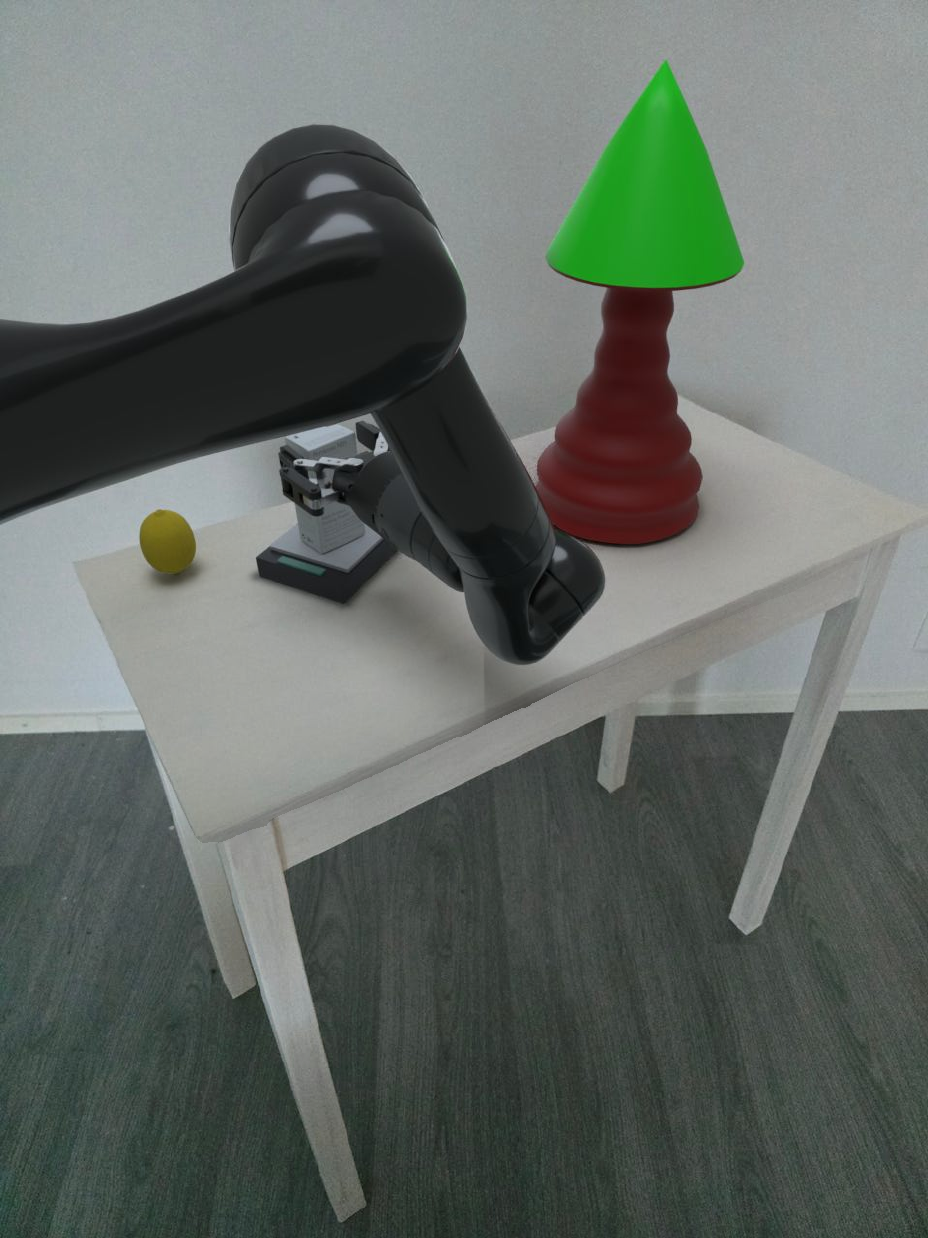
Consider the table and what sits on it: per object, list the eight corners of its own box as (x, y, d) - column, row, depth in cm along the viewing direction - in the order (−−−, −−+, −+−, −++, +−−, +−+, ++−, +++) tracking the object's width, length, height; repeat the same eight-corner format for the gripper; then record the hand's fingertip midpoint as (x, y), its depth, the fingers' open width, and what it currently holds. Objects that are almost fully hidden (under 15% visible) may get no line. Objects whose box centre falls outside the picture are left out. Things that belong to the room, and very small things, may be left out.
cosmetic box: (322, 556, 88) (307, 452, 80) (297, 539, 90) (281, 437, 83) (368, 533, 91) (358, 431, 84) (343, 518, 94) (331, 417, 86)
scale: (344, 603, 86) (341, 580, 84) (259, 576, 90) (254, 553, 88) (407, 541, 95) (405, 518, 93) (327, 518, 99) (324, 497, 97)
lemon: (156, 594, 88) (136, 530, 83) (146, 567, 92) (126, 504, 87) (208, 579, 90) (192, 515, 85) (196, 553, 94) (179, 491, 89)
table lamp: (733, 515, 99) (834, 59, 71) (601, 567, 91) (654, 77, 63) (625, 449, 112) (674, 44, 84) (502, 489, 104) (510, 57, 76)
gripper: (477, 446, 74) (379, 387, 84) (339, 497, 68) (250, 427, 78) (478, 518, 79) (384, 454, 89) (348, 572, 72) (263, 497, 82)
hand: (322, 441), depth 83 cm, fingers open, 8 cm apart
